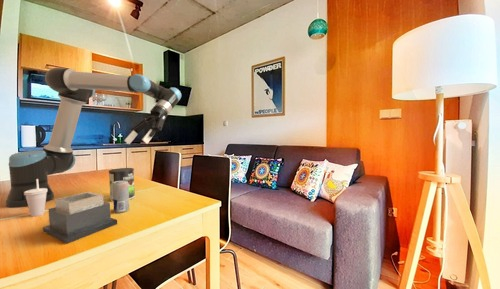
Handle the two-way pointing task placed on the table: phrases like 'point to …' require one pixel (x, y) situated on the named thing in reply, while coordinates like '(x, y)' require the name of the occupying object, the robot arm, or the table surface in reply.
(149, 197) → the table surface
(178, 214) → the table surface
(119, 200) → the energy drink
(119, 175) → the coffee can
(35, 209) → the smoothie
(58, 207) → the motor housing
